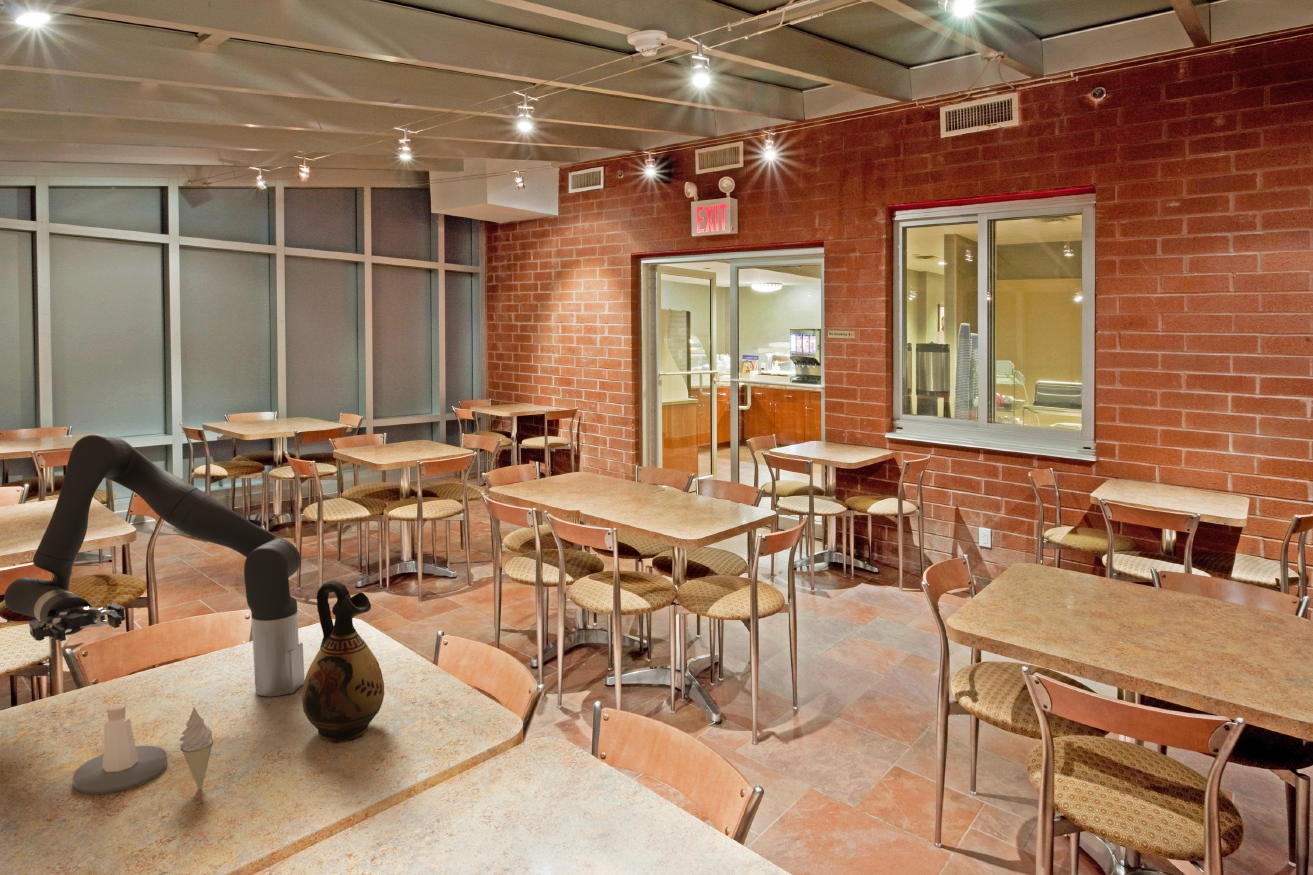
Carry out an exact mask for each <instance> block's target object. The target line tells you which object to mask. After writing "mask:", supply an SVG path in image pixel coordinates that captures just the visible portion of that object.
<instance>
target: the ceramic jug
mask: <svg viewBox="0 0 1313 875" xmlns="http://www.w3.org/2000/svg"><path fill="white" fill-rule="evenodd" d="M346 586H347V585H345V584H344V583H342V582H339V581H336V580H331V581H328V582H326V583H323V584H322V585H321V586H320V587H319V588H318V590H317V592H316V610H317V613H318V618H319V623H320V627H321V630H322V635H323V637H322V640H321V643H320V647H319V650H318V651H317V653H316V654H315V656H314V658H313V660H312V662H311V664H310V665H309V668H308V671H307V672H306V675H305V677H304V680H305V681H304V683H303V684H302V691H301V705H302V711H303V713H304V715H305V716H306V718H307V720H308V721H309V723H310V724H312V726H313V727H314V728H316V729H317V735H318V737H319V738H320V739H321V740H324V741H326V742H329V743H333V744H338V743H339V744H340V743H343V742H348V741H349V742H351V741H354V740H357V739H359V738H362V737H363V735H364V734H366V733H367V732H368V730H369V725H370V723H371V722H372V721H373V719H374V718H375V717H376V715H377V714H378V713H379V711H380V710H381V708H382V705H383V702H384V697H385V683H384V681H385V680H384V678H383V673H382V669H381V667H380V663H379V661H378V660H377V657H376V656H375V655H374V652H372V650H371V649H370V647H369V645H368V644H367V643H366V642H365V640H364V639H363V638H362V636H361V635H360V634H359V633H358V631H357V629H356V628H355V627H354V624H353V623H354V622H353V618H354V617H357V616H358V615H362V614H365V613H368V612H370V611H371V609H372V604H371V602H370V599H369V597H368V596H367V595H366V594H365V593H364V592H362V591H360V592H358V593H356V594H355V595H353V596H352V597H351V594H350V591H349V590H348V588H347V587H346ZM330 593H334V594H335V597H336V602H335V603H334V605H333V606H332V607H331V608H330V603H329V598H330ZM331 610H332V612H331ZM332 614H333V615H334V621H333V618H332Z"/></svg>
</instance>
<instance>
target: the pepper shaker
mask: <svg viewBox="0 0 1313 875" xmlns="http://www.w3.org/2000/svg"><path fill="white" fill-rule="evenodd" d="M126 707H127V706H126V704H125V703H114V704H112V705H110V706H108V707H107V709H106V712H107V720H106V721H105V722H104V725H103V726H104V728H103V733H104V734H103V751H102V754H103V767H102V768H103V769H104V770H105V771H106V772H119V771H122V770H125V769H128V768H131V767H132V766H134V765H135V764H136V763H137V762H138V756H137V751H136V746H137V745H136V742H135V738H134V737H135V736H134V732H133V728H132V722H131V719H130V717H129V716H127V714H126V713H127V712H126Z"/></svg>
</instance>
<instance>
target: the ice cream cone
mask: <svg viewBox="0 0 1313 875" xmlns="http://www.w3.org/2000/svg"><path fill="white" fill-rule="evenodd" d="M185 725H186V727H187V728H186V729H185V730H184V731H182V732H181V733H180V734H182V735H183V736H181V737H180V738H178V739H179V741H180V742H182V743H181V744H179V747H180V749H179V750H180V752H182V754H183V757H184V759H185V761H186V764H187V765H188V769H189V771H190V773H191V775H192V778H193V780H194V782H195V784H196V787H197V789H198V790H199V791H200V790H202V789H203V785H204V781H205V777H206V773H207V770H208V765H209V762H210V757H211V754H212V748H213V745H214V743H215V740H214V739H213V730H212V729H211V728H210V726H207V725H206V724H205V720H204V719H203V717H201V716H200V714H199V713H198V711H197V709H196V707H195V706H193V708H192V711H191V714H190V716H189V718H188V720H187V722H186V724H185Z"/></svg>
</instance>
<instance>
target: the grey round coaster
mask: <svg viewBox="0 0 1313 875" xmlns="http://www.w3.org/2000/svg"><path fill="white" fill-rule="evenodd" d="M135 746H136V751H137V756H138V762H137V763H136V764H135V765H134V766H132V767H131V768H128V769H125V770H122V771H119V772H106V771H105V770H104V769H103V768H102V767H103V753H102V754H100V755H97V756H95V757H94V758H91V759H89V760H87V761H86V762H85V763H83V764H82V765H80V766H79V767H78V768H77V769H76V770H75V771H74V773H73V776H72V779H73V787H74V789H75V791H77V792H78V791H79V792H78V793H81V794H84V795H92V794H99V795H105V794H104V793H109V794H112V793H111V792H115V793H119V792H118V791H120V792H123V791H122V790H124V791H127V790H130V789H129V788H131V789H133V788H136V787H138V786H141V785H143V784H142V783H144V784H145V783H147V782H150V781H151V780H153V779H154V778H157V777H158V776H159V775H161V774H162V773H163V772H164V771H165V770H166V768H167V766H168V754H167V751H166V750H165V749H163V748H161V747H159V746H156V745H155V746H153V745H138V746H137V745H135ZM140 784H141V785H140ZM132 787H133V788H132ZM126 789H127V790H126ZM102 793H103V794H102Z"/></svg>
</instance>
